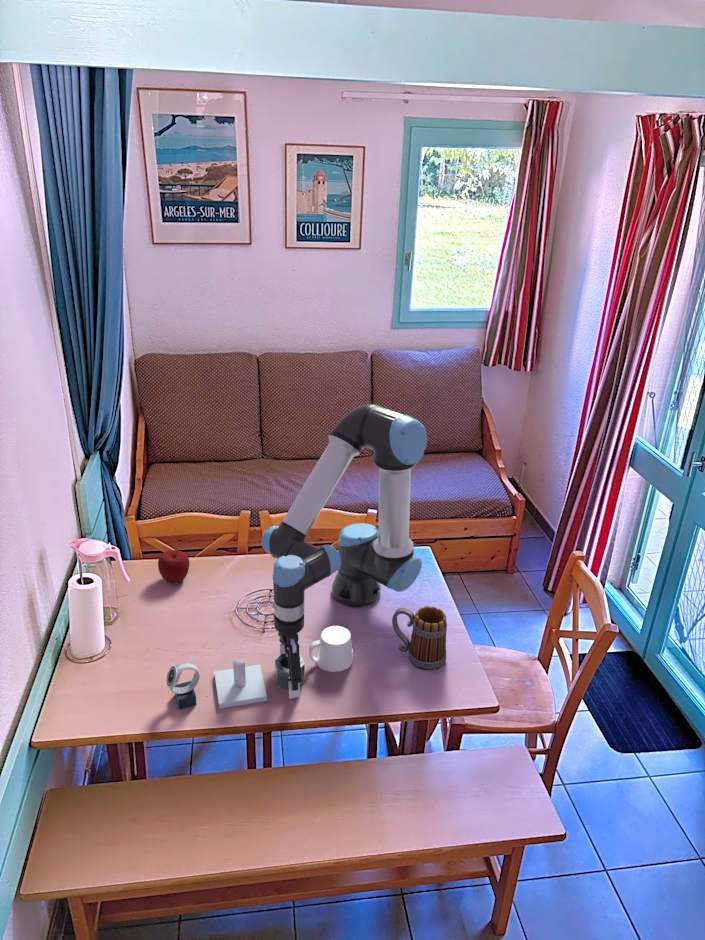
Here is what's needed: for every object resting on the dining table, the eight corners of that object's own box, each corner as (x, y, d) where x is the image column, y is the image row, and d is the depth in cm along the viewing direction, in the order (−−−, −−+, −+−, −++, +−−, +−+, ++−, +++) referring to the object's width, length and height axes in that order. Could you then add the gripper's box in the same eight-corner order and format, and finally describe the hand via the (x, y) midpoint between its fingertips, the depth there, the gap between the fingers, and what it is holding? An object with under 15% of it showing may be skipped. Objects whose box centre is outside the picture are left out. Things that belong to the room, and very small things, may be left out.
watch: (167, 696, 184) (163, 663, 179) (198, 688, 187) (195, 655, 182) (171, 711, 180) (167, 677, 175) (203, 703, 183) (200, 669, 178)
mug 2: (449, 651, 203) (454, 608, 196) (441, 676, 194) (445, 631, 187) (396, 638, 207) (399, 595, 201) (385, 661, 198) (388, 617, 192)
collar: (300, 668, 195) (300, 651, 192) (306, 687, 189) (306, 669, 186) (274, 672, 193) (273, 655, 191) (278, 691, 187) (278, 673, 184)
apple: (187, 589, 225) (184, 562, 220) (156, 588, 225) (153, 561, 220) (193, 572, 233) (191, 545, 229) (163, 571, 233) (161, 544, 229)
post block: (260, 668, 194) (259, 643, 191) (267, 700, 184) (266, 674, 180) (214, 675, 192) (212, 650, 188) (219, 708, 181) (217, 682, 177)
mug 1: (349, 623, 198) (356, 642, 191) (348, 650, 202) (355, 669, 195) (306, 629, 195) (312, 648, 188) (306, 656, 200) (311, 676, 193)
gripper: (266, 587, 191) (268, 651, 200) (282, 647, 170) (283, 715, 179) (294, 583, 193) (294, 647, 202) (314, 642, 172) (313, 710, 181)
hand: (289, 679), depth 191 cm, fingers open, 12 cm apart
